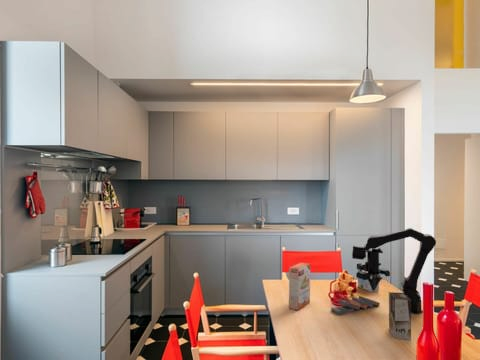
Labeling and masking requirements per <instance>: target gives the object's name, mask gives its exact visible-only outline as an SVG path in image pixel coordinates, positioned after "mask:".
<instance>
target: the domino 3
mask: <svg viewBox="0 0 480 360" xmlns="http://www.w3.org/2000/svg"><path fill="white" fill-rule="evenodd" d="M344 301H346V302H349V303H351V304H353V305H356V306H359V307H360V308H362V309H366V310H367V307H368V306H366V305H364V304H361V303H358V302H356V301H354V300H352V298H347V297H346V298H345V300H344Z"/></svg>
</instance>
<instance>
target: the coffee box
mask: <svg viewBox="0 0 480 360" xmlns="http://www.w3.org/2000/svg"><path fill="white" fill-rule="evenodd" d="M411 325H412V312H411V300H410V299H409V298H408V297H407V296H406V295H405V294H404V293H403V292H394V291H393V292H392V291H389V292H388V329H389V331H390V333H391V334H392V336H393V338H395V339H398V340H399V339H401V340H410V341H411V340H412V326H411Z"/></svg>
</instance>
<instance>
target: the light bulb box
mask: <svg viewBox="0 0 480 360" xmlns="http://www.w3.org/2000/svg"><path fill="white" fill-rule="evenodd" d="M357 272H361V271H360V270H358V269H357ZM363 272H365V271H363ZM366 273H368V272H366ZM379 283H380V282H379ZM379 283H378V285H377V287H376V289H375V290H374V291H373V290H372V288H371V286H370V283H369V281H368V280H363V279H360V278H357V287H358V288H360V289H362V290H366V291H368V292H370V293H371V292H372V293H373V292H376V291H377V292H378V290H379V291H380V288H379V287H380V284H379Z"/></svg>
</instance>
